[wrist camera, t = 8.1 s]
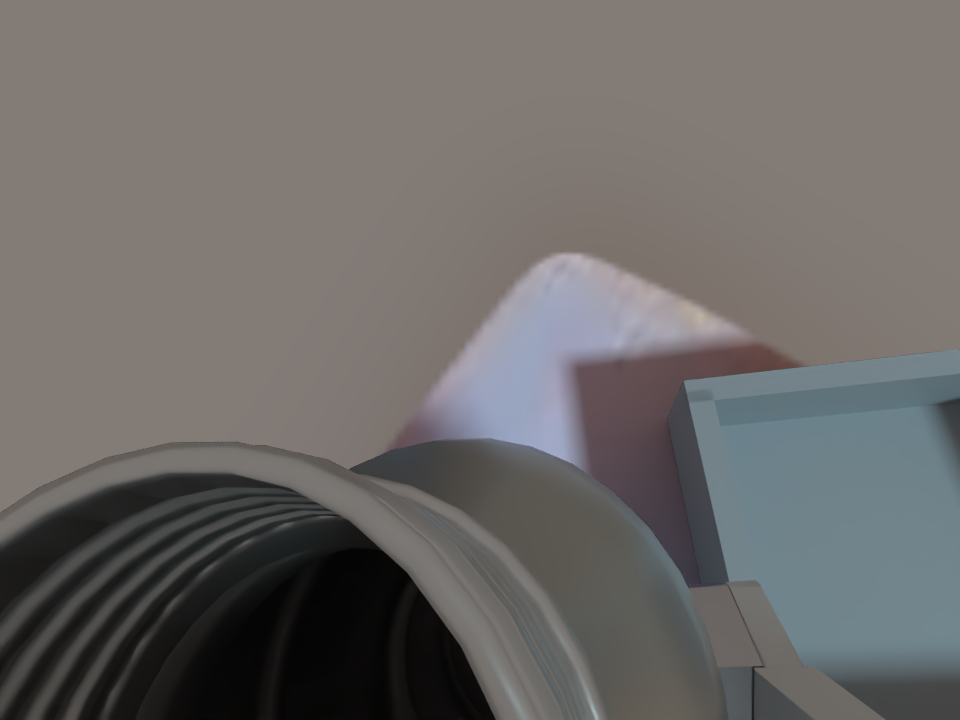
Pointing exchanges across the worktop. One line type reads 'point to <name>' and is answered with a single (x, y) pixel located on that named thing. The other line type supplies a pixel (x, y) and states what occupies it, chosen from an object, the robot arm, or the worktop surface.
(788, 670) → the robot arm
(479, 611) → the silver metal bottle
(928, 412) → the toy pickup truck
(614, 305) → the worktop surface
